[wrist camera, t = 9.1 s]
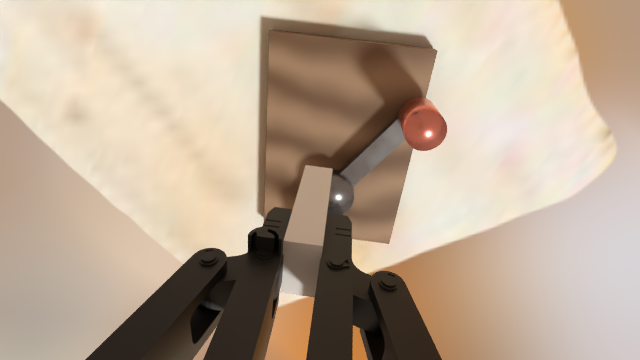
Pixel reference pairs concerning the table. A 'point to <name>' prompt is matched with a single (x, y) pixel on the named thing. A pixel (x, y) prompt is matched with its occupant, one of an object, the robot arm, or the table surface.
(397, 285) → the robot arm
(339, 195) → the lever
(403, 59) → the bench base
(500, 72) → the table surface
